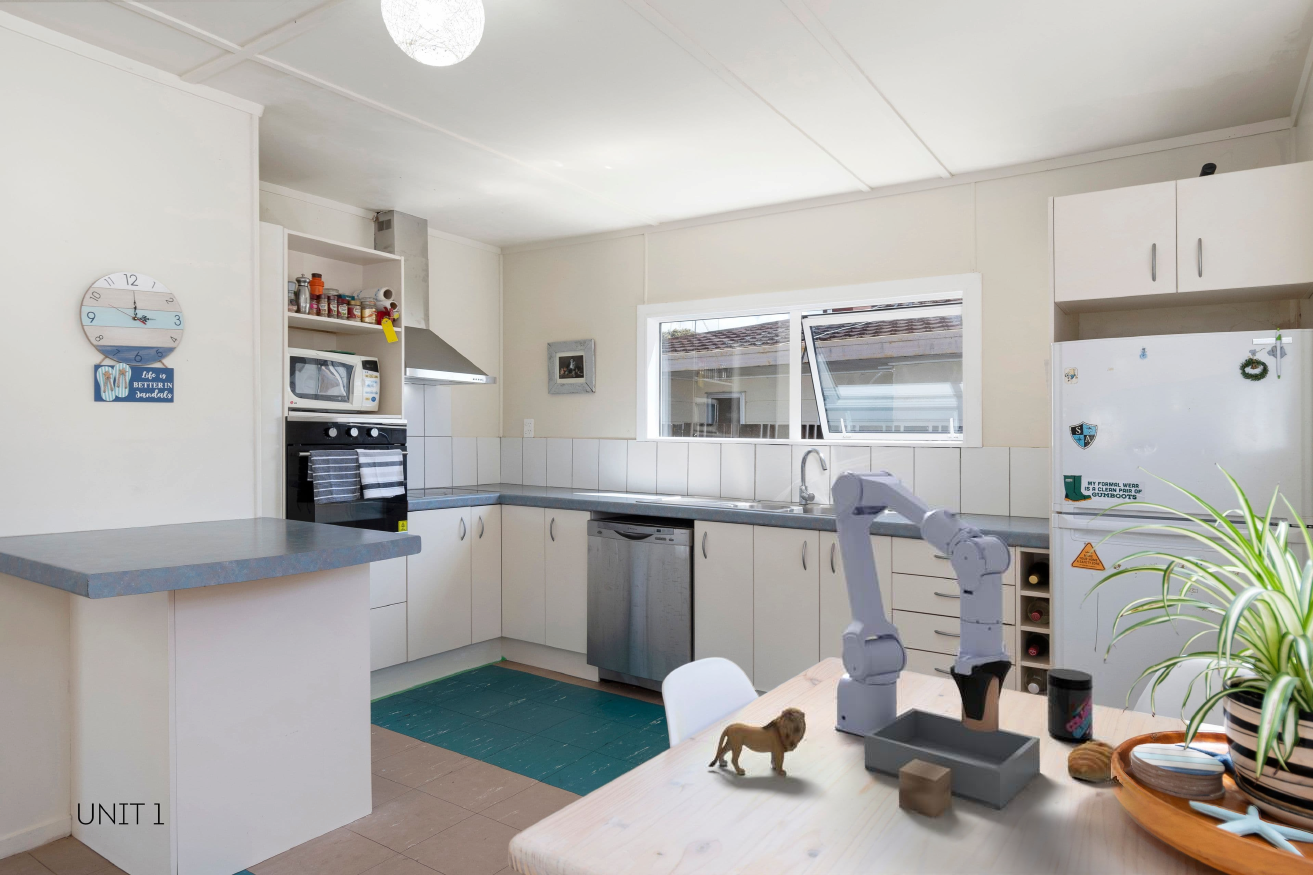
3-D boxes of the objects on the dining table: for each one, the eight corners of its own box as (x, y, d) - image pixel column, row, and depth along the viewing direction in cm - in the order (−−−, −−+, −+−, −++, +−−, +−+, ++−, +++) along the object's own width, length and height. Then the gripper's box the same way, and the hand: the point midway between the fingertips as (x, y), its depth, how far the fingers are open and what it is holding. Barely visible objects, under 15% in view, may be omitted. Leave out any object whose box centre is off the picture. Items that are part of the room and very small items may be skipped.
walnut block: (899, 807, 103) (898, 769, 103) (915, 795, 107) (915, 758, 107) (935, 819, 100) (935, 780, 100) (950, 806, 103) (950, 768, 103)
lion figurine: (801, 761, 118) (801, 702, 118) (810, 775, 113) (810, 714, 113) (706, 763, 117) (706, 703, 117) (710, 778, 112) (711, 715, 112)
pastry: (1106, 790, 109) (1106, 763, 109) (1055, 776, 114) (1055, 750, 114) (1126, 771, 115) (1126, 745, 115) (1077, 758, 120) (1077, 734, 120)
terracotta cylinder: (957, 726, 112) (957, 677, 112) (966, 716, 116) (966, 670, 116) (994, 734, 109) (994, 684, 109) (1002, 724, 113) (1002, 675, 113)
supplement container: (1058, 743, 125) (1058, 679, 126) (1040, 729, 132) (1039, 667, 132) (1101, 745, 125) (1100, 680, 125) (1080, 730, 132) (1080, 668, 132)
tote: (864, 768, 115) (864, 734, 116) (912, 738, 128) (912, 707, 128) (1000, 809, 102) (1000, 771, 102) (1039, 771, 114) (1039, 738, 114)
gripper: (991, 632, 104) (991, 733, 104) (1026, 616, 115) (1027, 707, 115) (939, 624, 109) (940, 721, 109) (978, 609, 120) (978, 697, 119)
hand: (981, 713), depth 112 cm, fingers closed on terracotta cylinder, 5 cm apart
